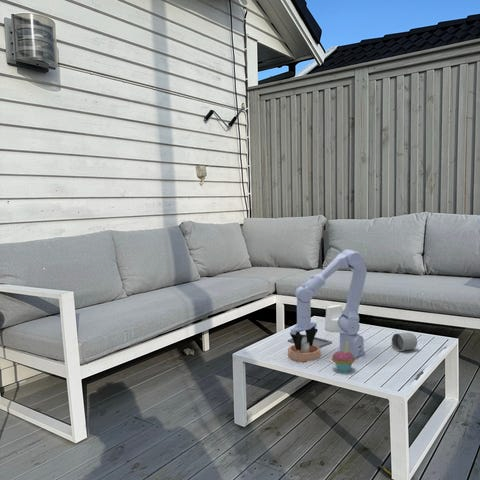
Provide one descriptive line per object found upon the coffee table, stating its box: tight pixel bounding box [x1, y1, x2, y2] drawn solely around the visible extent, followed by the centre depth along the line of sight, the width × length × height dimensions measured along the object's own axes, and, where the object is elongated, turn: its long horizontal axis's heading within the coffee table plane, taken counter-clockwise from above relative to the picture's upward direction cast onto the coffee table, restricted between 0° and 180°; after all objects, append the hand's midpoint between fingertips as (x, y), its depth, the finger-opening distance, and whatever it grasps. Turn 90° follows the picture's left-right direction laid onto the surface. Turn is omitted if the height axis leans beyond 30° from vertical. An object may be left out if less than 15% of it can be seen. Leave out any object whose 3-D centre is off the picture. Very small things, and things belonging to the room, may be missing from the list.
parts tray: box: [287, 333, 333, 349], centre depth 205 cm, size 16×12×1 cm
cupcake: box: [331, 342, 356, 373], centre depth 172 cm, size 9×8×12 cm
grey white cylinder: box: [324, 304, 343, 333], centre depth 225 cm, size 9×9×12 cm
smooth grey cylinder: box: [298, 341, 309, 353], centre depth 188 cm, size 5×5×5 cm
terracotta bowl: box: [287, 343, 321, 363], centre depth 188 cm, size 13×13×4 cm
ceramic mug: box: [390, 332, 418, 352], centre depth 195 cm, size 11×8×8 cm
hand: (304, 347), depth 188 cm, fingers open, 7 cm apart
